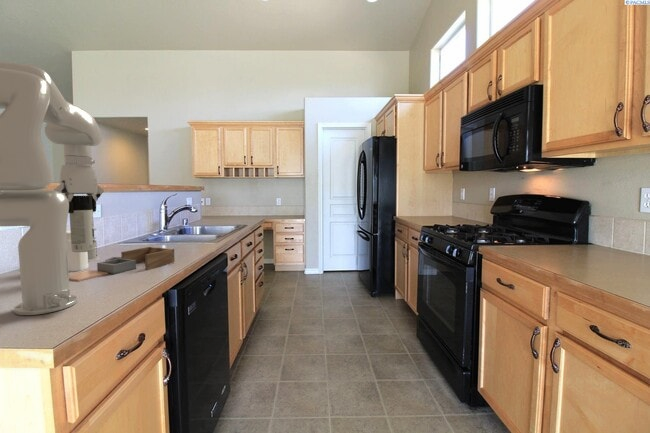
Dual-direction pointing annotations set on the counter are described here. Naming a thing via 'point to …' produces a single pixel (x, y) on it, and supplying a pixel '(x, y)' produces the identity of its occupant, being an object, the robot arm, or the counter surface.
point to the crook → (113, 258)
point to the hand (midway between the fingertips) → (81, 211)
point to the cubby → (150, 256)
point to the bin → (116, 266)
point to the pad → (86, 275)
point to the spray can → (82, 224)
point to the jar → (75, 257)
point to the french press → (93, 253)
